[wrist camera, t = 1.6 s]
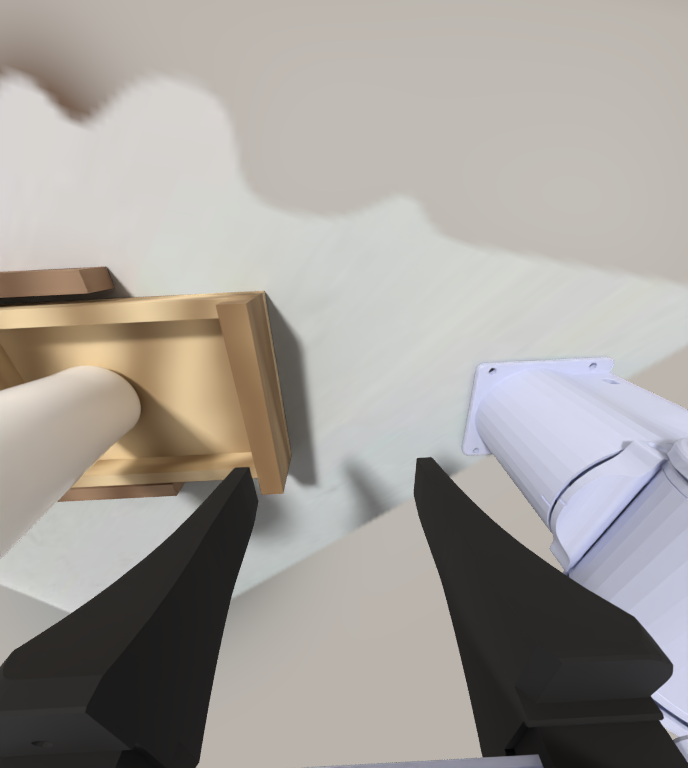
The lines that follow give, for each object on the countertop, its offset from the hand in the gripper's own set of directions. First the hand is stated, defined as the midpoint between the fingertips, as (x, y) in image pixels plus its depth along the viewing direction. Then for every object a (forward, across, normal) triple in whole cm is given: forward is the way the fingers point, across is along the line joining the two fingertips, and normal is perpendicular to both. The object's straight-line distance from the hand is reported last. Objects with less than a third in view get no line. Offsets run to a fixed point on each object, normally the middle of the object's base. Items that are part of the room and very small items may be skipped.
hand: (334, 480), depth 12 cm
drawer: (+9, +13, 0) cm, 16 cm away
